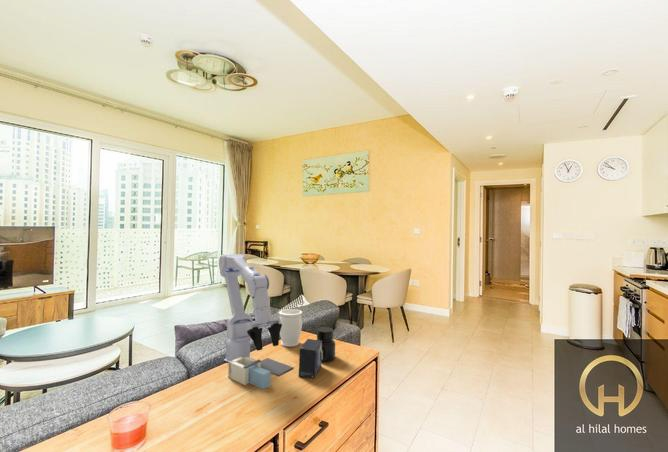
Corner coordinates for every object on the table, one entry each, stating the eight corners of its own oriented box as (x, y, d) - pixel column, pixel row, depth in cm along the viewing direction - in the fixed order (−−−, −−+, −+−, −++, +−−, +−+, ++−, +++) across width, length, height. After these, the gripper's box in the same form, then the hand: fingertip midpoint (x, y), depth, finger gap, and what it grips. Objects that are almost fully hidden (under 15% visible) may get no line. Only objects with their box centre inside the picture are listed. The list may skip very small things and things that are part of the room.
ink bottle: (312, 354, 136) (312, 326, 136) (332, 352, 138) (332, 325, 138) (316, 364, 127) (316, 333, 127) (337, 362, 129) (338, 332, 129)
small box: (315, 379, 114) (315, 350, 114) (297, 377, 115) (298, 348, 115) (322, 366, 124) (322, 339, 124) (306, 364, 126) (306, 338, 126)
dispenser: (228, 377, 114) (228, 360, 114) (243, 370, 120) (244, 353, 120) (245, 385, 109) (245, 367, 109) (260, 377, 114) (260, 360, 114)
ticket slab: (243, 380, 112) (244, 366, 112) (250, 377, 115) (250, 363, 115) (263, 389, 106) (263, 374, 106) (270, 386, 109) (270, 371, 109)
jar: (275, 347, 143) (276, 313, 143) (282, 339, 153) (283, 307, 153) (298, 349, 141) (298, 315, 141) (304, 340, 152) (304, 309, 151)
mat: (252, 365, 124) (252, 364, 124) (267, 358, 130) (267, 357, 130) (278, 376, 116) (278, 375, 116) (293, 368, 122) (293, 367, 122)
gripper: (253, 308, 106) (259, 350, 102) (284, 304, 118) (290, 342, 114) (240, 312, 110) (245, 353, 106) (270, 308, 121) (276, 345, 118)
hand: (268, 348), depth 110 cm, fingers open, 7 cm apart
